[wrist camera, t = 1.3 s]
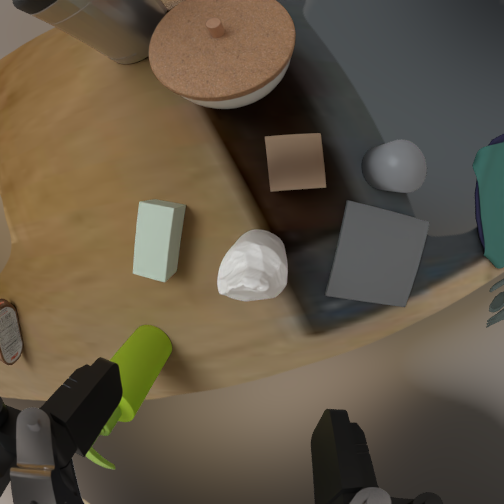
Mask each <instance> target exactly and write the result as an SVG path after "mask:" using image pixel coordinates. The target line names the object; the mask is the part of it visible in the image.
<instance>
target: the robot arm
mask: <svg viewBox="0 0 504 504" xmlns="http://www.w3.org/2000/svg"><path fill="white" fill-rule="evenodd" d="M13 4H14V6H15V7H16V8H17V9H19V10H22V11H24V12H26V13H28V14H30V15H32V16H34V17H36V18H38V19H41V20H43V21H45V22H47V23H49V24H51V25H53V26H55V27H57V28H58V29H60V30H62V31H64V32H66V33H68V34H70V35H71V36H73V37H75V38H77V39H79V40H80V41H82V42H84V43H86V44H87V45H89V46H91V47H92V48H94V49H96V50H97V51H99V52H101V53H102V54H104V55H106V56H107V57H109V58H110V59H112V60H114V61H115V62H117V63H120V64H131V63H136V62H138V61H141V60H143V59H144V58H146V57H148V56H149V45H150V41H151V37H152V35H153V33H154V31H155V29H156V27H157V25H158V24H159V22H160V21H161V20H162V19H163V17H164V16H165V15H166V12H167V8H166V7H165V5H164V4H163V3H162V1H161V0H13ZM122 394H123V389H122V383H121V377H120V370H119V366H118V364H117V363H114V362H111V361H109V360H106V359H104V358H101V357H100V358H98V359H97V360H96V361H95V362H94V363H93V364H92V365H91V366H89V365H85V366H83V367H81V368H79V369H76V370H75V371H74V373H73V374H72V375H71V376H70V377H69V379H67V380H66V381H65V382H64V383H63V385H61V386H60V387H59V388H58V389H57V391H56V392H55V393H54V394H53V395H52V396H51V397H50V398H49V399H48V400H47V401H46V402H45V404H44V405H43V406H42V407H41V408H39V409H38V408H27V409H24V410H23V411H20V410H17V409H14V408H12V407H9V406H7V405H5V404H4V402H3V400H2V399H1V397H0V497H1V495H2V494H3V491H4V490H5V488H6V487H7V485H8V484H9V482H10V480H11V489H12V496H13V502H14V504H84V502H83V500H82V498H81V494H80V491H79V487H78V483H77V479H76V475H75V470H74V465H73V460H72V457H73V455H74V453H77V454H79V455H81V456H82V457H85V456H86V454H87V452H88V451H89V449H90V448H91V446H92V445H93V443H94V442H95V440H96V438H97V437H98V435H99V434H100V432H101V431H102V429H103V428H104V426H105V425H106V423H107V422H108V420H109V418H110V417H111V415H112V414H113V412H114V411H115V409H116V408H117V406H118V405H119V403H120V401H121V399H122ZM366 444H367V442H366V438H365V435H364V432H363V430H362V429H361V428H360V427H359V425H358V424H357V423H350V421H349V417H348V413H347V411H346V410H336V409H335V410H334V409H326V410H325V411H324V413H323V415H322V417H321V419H320V421H319V423H318V424H317V426H316V428H315V430H314V432H313V434H312V439H311V453H312V466H313V482H314V499H315V504H443V502H442V500H441V498H440V497H439V496H438V495H436V494H434V493H430V492H426V493H423V494H420V495H419V496H417V497H416V498H415V499H403V498H393V497H390V496H389V495H388V493H386V492H385V491H384V490H382V489H380V488H379V487H378V485H377V481H376V477H375V473H374V469H373V465H372V461H371V457H370V454H369V449H368V446H367V445H366Z"/></svg>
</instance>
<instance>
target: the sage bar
mask: <svg viewBox="0 0 504 504" xmlns="http://www.w3.org/2000/svg"><path fill="white" fill-rule="evenodd" d="M185 208H186V205H184V204H179V203H173V202H168V201H163V200H157V199H152V200H146V201H141V202H139V209H138V218H137V227H136V237H135V250H134V264H133V274H136V275H140V276H144V277H147V278H151V279H154V280H158V281H162V282H166V281H167V280H168V279H169V278H170V277H171V276H172V275H173V274H174V273H175V272H176V271H177V265H178V257H179V249H180V242H181V235H182V228H183V221H184V215H185Z"/></svg>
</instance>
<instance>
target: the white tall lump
mask: <svg viewBox="0 0 504 504" xmlns="http://www.w3.org/2000/svg"><path fill="white" fill-rule="evenodd" d="M287 275H288V265H287V257H286V252H285V247H284V244H283V242H282V240H281V239H280V238H279V237H278V236H276V235H275V234H273V233H271V232H268V231H265V230H256V229H254V230H250V231H248V232H246V233H244V234H243V235H242V236H241V237H240V238H239V239H238V240H237V241H236V243H235V244H234V245H233V246H232V247H231V248H230V249H229V251H228V252H227V253H226V255H225V256H224V258H223V260H222V262H221V265H220V268H219V273H218V280H217V286H218V291H219V293H220V294H222V295H226V296H228V297H230V298H233V299H236V300H241V301H254V300H262V299H269V298H275V297H276V296H278V295H279V294H280V293H281V292H282V291H283V289H284V288H285V286H286V285H287Z"/></svg>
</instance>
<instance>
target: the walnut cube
mask: <svg viewBox="0 0 504 504" xmlns="http://www.w3.org/2000/svg"><path fill="white" fill-rule="evenodd" d="M265 143H266V153H267V162H268V172H269V181H270V192H271V191H283V190H297V189H311V188H326V179H325V168H324V158H323V149H322V141H321V133H309V134H291V135H278V136H266V137H265Z"/></svg>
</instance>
